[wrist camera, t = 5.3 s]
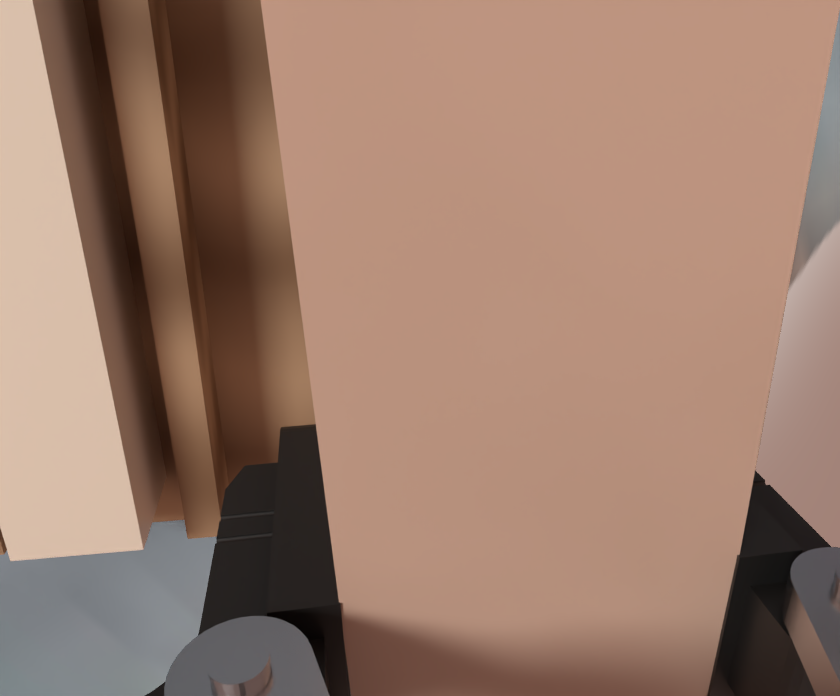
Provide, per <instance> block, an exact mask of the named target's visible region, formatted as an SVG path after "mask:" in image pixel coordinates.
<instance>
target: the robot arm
mask: <svg viewBox="0 0 840 696" xmlns="http://www.w3.org/2000/svg"><path fill="white" fill-rule="evenodd" d="M145 696H351V692H350V683H349V676H348V668H347V660H346V653H345V645H344V636H343V625H342V614H341V603H340V602H339V599H338V591H337V583H336V576H335V568H334V560H333V553H332V545H331V537H330V530H329V522H328V514H327V507H326V499H325V491H324V483H323V476H322V468H321V460H320V453H319V445H318V437H317V430H316V424H311V425H299V426H288V427H281V429H280V439H279V452H278V462H277V463H266V464H256V465H245V466H244V467H243V468H242V470H241V471H240V472H239V473H238V474H237V476H236V477H235V478H234V479H233V481H232V482H231V483H230V484H229V485H228V487H227V488H226V489H225V494H224V499H223V505H222V510H221V521H219V527H218V532H217V544H215V548H214V554H213V559H212V565H211V570H210V576H209V581H208V587H207V592H206V598H205V603H204V608H203V614H202V619H201V625H200V630H199V634H198V636H197V637H196V638H194V639H193V640H192V641H191V642H190V643H189V644H188V645H186V646H185V647H184V649H183V650H182V651H181V652H180V653H179V654H178V656H177V657H176V659H175V660H174V662H173V663H172V665H171V667H170V669H169V672H168V674H167V677H166V682H164V683H163V684H162V685H160V686H159V687H158V688H156V689H155V690H154V691H152V692H150V693H149V694H147V695H145ZM707 696H840V548H838V547H831V546H830V545H829V544H828V543H827V542H826V541H825V540H824V539H823V538H822V537H821V536H820V535H819V534H818V533H817V532H816V531H815V530H814V529H813V528H812V527H811V526H810V525H809V524H808V523H807V522H806V521H805V520H804V519H803V518H802V517H801V516H800V515H799V514H798V513H797V512H796V511H795V510H794V509H793V508H792V507H791V506H790V505H789V504H788V503H787V502H786V501H785V500H784V499H783V498H782V497H781V496H780V495H779V494H778V493H777V492H776V491H775V490H774V489H773V488H772V487H771V486H770V485H766V484H765V480H764V479H763V478H762V477H761V476H760V475H759V474H758V473H757V472H756V471H755V474H754V479H753V485H752V490H751V496H750V501H749V507H748V512H747V517H746V523H745V528H744V534H743V539H742V545H741V550H740V555H737V559H736V564H735V569H734V573H733V578H732V583H731V587H730V592H729V597H728V601H727V606H726V611H725V615H724V620H723V625H722V629H721V634H720V639H719V643H718V648H717V652H716V657H715V662H714V666H713V671H712V676H711V680H710V685H709V690H708V694H707Z"/></svg>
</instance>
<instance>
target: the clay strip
mask: <svg viewBox="0 0 840 696" xmlns="http://www.w3.org/2000/svg"><path fill="white" fill-rule="evenodd" d="M261 7H262V15H263V22H264V30H265V38H266V45H267V53H268V61H269V69H270V76H271V84H272V92H273V99H274V107H275V115H276V122H277V130H278V138H279V145H280V153H281V161H282V168H283V176H284V184H285V191H286V199H287V207H288V215H289V222H290V230H291V238H292V245H293V253H294V261H295V268H296V276H297V284H298V291H299V299H300V307H301V314H302V322H303V330H304V337H305V345H306V353H307V361H308V368H309V376H310V384H311V391H312V399H313V407H314V414H315V422H316V430H317V437H318V445H319V453H320V460H321V468H322V476H323V483H324V491H325V499H326V507H327V514H328V522H329V530H330V537H331V545H332V553H333V560H334V568H335V576H336V583H337V591H338V599H339V602H340V603H341V614H342V625H343V636H344V645H345V653H346V660H347V668H348V676H349V683H350V691H351V696H707V694H708V690H709V685H710V680H711V676H712V671H713V666H714V662H715V657H716V652H717V648H718V643H719V639H720V634H721V629H722V625H723V620H724V615H725V611H726V606H727V601H728V597H729V592H730V587H731V583H732V578H733V573H734V569H735V564H736V559H737V555H740V550H741V545H742V539H743V534H744V528H745V523H746V517H747V512H748V507H749V501H750V496H751V490H752V485H753V479H754V474H755V468H756V462H757V457H758V452H759V446H760V441H761V435H762V430H763V424H764V419H765V413H766V408H767V403H768V397H769V392H770V386H771V381H772V375H773V370H774V364H775V359H776V354H777V347H778V343H779V337H780V332H781V326H782V320H783V315H784V309H785V304H786V299H787V293H788V288H789V283H790V277H791V272H792V266H793V261H794V255H795V250H796V244H797V239H798V233H799V228H800V222H801V217H802V212H803V206H804V201H805V195H806V190H807V184H808V179H809V173H810V168H811V162H812V157H813V151H814V146H815V140H816V135H817V130H818V124H819V119H820V113H821V108H822V102H823V97H824V91H825V86H826V80H827V75H828V69H829V64H830V59H831V53H832V48H833V42H834V37H835V31H836V26H837V20H838V15H839V9H840V0H261Z"/></svg>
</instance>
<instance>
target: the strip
mask: <svg viewBox="0 0 840 696" xmlns="http://www.w3.org/2000/svg"><path fill="white" fill-rule="evenodd" d="M165 480H166V471H165V466H164V460H163V454H162V448H161V443H160V437H159V431H158V426H157V420H156V414H155V408H154V403H153V397H152V391H151V386H150V380H149V374H148V369H147V363H146V357H145V351H144V346H143V340H142V334H141V329H140V323H139V317H138V311H137V306H136V300H135V294H134V289H133V283H132V277H131V272H130V266H129V260H128V254H127V249H126V243H125V237H124V232H123V226H122V220H121V214H120V209H119V203H118V197H117V192H116V186H115V180H114V175H113V169H112V163H111V157H110V152H109V146H108V140H107V135H106V129H105V123H104V117H103V112H102V106H101V100H100V95H99V89H98V83H97V78H96V72H95V66H94V60H93V55H92V49H91V43H90V38H89V32H88V26H87V20H86V15H85V9H84V3H83V0H0V528H1V532H2V535H3V538H4V541H5V545H6V548H7V551H8V554H9V558H10V561H17V560H29V559H40V558H52V557H64V556H75V555H87V554H98V553H110V552H121V551H133V550H143V549H144V546H145V543H146V540H147V537H148V534H149V531H150V527H151V524H152V521H153V518H154V515H155V512H156V509H157V505H158V502H159V499H160V496H161V493H162V490H163V487H164V483H165Z"/></svg>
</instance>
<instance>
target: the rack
mask: <svg viewBox="0 0 840 696" xmlns="http://www.w3.org/2000/svg"><path fill="white" fill-rule="evenodd" d="M83 3H84V9H85V15H86V20H87V26H88V32H89V38H90V43H91V49H92V55H93V60H94V66H95V72H96V78H97V83H98V89H99V95H100V100H101V106H102V112H103V117H104V123H105V129H106V135H107V140H108V146H109V152H110V157H111V163H112V169H113V175H114V180H115V186H116V192H117V197H118V203H119V209H120V214H121V220H122V226H123V232H124V237H125V243H126V249H127V254H128V260H129V266H130V272H131V277H132V283H133V289H134V294H135V300H136V306H137V311H138V317H139V323H140V329H141V334H142V340H143V346H144V351H145V357H146V363H147V369H148V374H149V380H150V386H151V391H152V397H153V403H154V408H155V414H156V420H157V426H158V431H159V437H160V443H161V448H162V454H163V460H164V466H165V471H166V480H165V483H164V487H163V490H162V493H161V496H160V499H159V502H158V505H157V509H156V512H155V515H154V518H153V521H152V522H161V521H173V520H185V525H186V531H187V537H188V539H190V538H202V537H214V536H217V532H218V527H219V521H221V510H222V505H223V499H224V494H225V489H226V488H227V487H228V485H229V484H230V483H231V482H232V481H233V479H234V478H235V477H236V476H237V474H238V473H239V472H240V471H241V470H242V468H243V467H244V466H245V465H256V464H266V463H277V462H278V452H279V439H280V429H281V427H288V426H299V425H311V424H316V422H315V414H314V407H313V399H312V391H311V384H310V376H309V368H308V361H307V353H306V345H305V337H304V330H303V322H302V314H301V307H300V299H299V291H298V284H297V276H296V268H295V261H294V253H293V245H292V238H291V230H290V222H289V215H288V207H287V199H286V191H285V184H284V176H283V168H282V161H281V153H280V145H279V138H278V130H277V122H276V115H275V107H274V99H273V92H272V84H271V76H270V69H269V61H268V53H267V45H266V38H265V30H264V22H263V15H262V7H261V0H83ZM6 550H7V548H6V545H5V541H4V538H3V535H2V532H1V528H0V555H2V554H5V552H6Z"/></svg>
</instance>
